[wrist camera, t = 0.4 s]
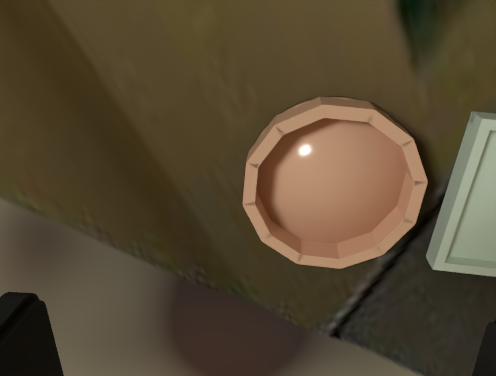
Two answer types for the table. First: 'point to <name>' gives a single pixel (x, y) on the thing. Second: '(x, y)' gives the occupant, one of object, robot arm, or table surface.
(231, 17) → the table surface
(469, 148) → the tray
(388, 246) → the bowl
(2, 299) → the robot arm
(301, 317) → the table surface
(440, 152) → the table surface
